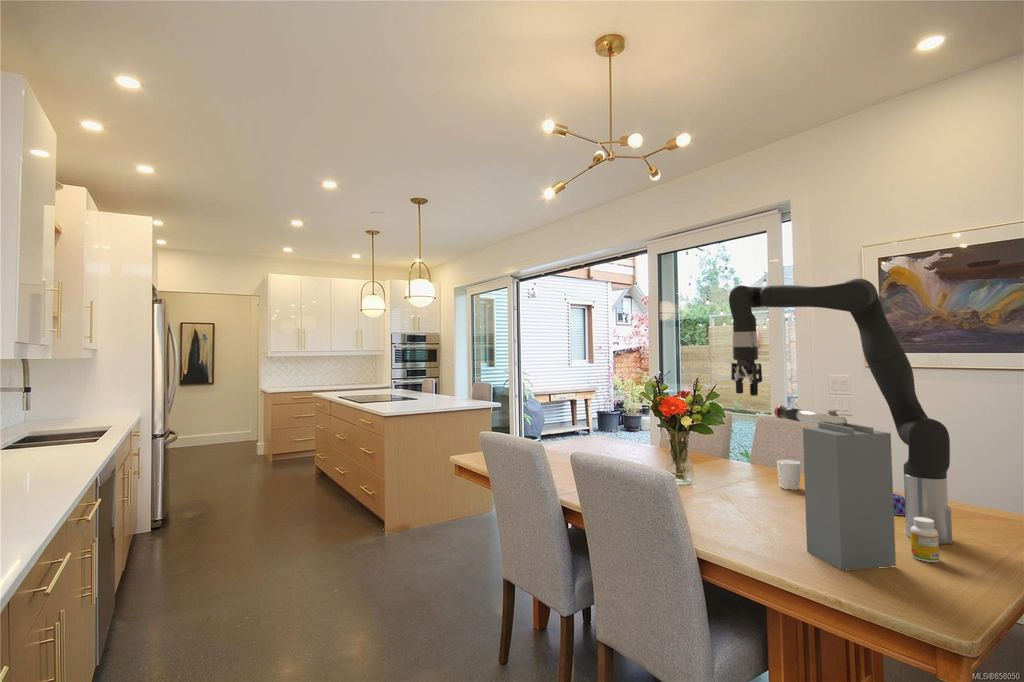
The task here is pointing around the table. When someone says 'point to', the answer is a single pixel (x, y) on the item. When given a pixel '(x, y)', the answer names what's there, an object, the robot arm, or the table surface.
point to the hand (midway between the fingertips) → (746, 394)
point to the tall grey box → (849, 496)
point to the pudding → (898, 504)
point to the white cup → (788, 474)
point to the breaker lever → (808, 416)
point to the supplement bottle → (924, 540)
